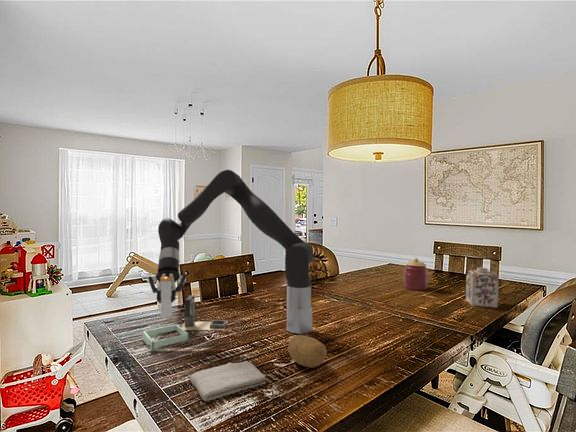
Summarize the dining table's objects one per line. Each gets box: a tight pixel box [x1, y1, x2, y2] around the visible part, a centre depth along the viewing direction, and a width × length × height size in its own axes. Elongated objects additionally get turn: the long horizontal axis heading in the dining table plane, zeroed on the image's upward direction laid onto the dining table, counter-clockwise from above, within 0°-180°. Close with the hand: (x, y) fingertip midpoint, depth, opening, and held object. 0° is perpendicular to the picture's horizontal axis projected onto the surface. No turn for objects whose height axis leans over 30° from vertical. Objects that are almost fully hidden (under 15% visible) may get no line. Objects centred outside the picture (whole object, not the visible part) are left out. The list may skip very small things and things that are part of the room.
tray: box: [141, 323, 190, 352], centre depth 119 cm, size 12×12×3 cm
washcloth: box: [189, 360, 267, 402], centre depth 92 cm, size 12×18×3 cm, turn 123°
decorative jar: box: [465, 266, 500, 309], centre depth 170 cm, size 12×12×18 cm
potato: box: [287, 334, 328, 369], centre depth 103 cm, size 10×14×8 cm
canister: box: [403, 257, 428, 291], centre depth 202 cm, size 13×13×18 cm
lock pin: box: [160, 276, 173, 319], centre depth 123 cm, size 4×4×14 cm
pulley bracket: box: [180, 295, 228, 331], centre depth 132 cm, size 17×9×12 cm, turn 92°
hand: (166, 301), depth 121 cm, fingers closed on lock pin, 3 cm apart
